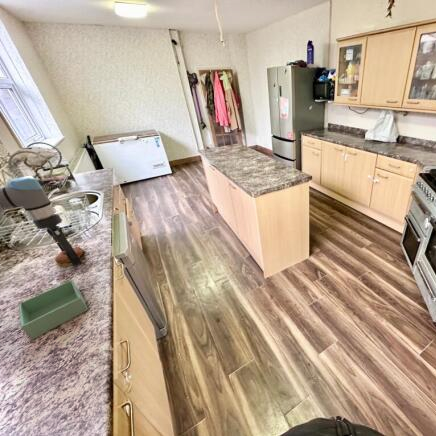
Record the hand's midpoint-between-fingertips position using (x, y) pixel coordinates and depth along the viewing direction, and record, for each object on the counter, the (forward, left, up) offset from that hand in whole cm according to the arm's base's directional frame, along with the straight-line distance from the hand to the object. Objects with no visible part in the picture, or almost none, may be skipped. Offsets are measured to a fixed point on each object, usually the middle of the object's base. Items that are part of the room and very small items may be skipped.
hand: (72, 258), depth 102 cm
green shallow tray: (+32, -12, -1) cm, 34 cm away
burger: (0, 0, -1) cm, 1 cm away
